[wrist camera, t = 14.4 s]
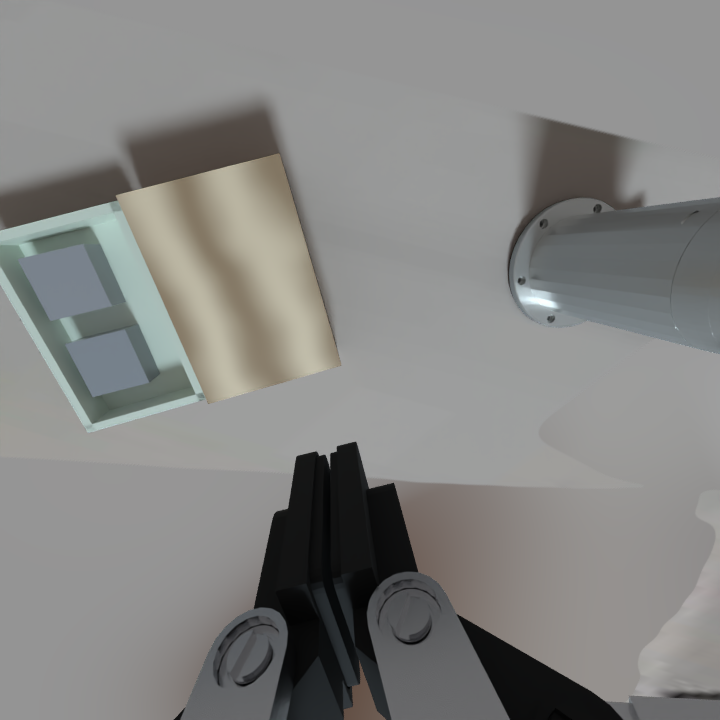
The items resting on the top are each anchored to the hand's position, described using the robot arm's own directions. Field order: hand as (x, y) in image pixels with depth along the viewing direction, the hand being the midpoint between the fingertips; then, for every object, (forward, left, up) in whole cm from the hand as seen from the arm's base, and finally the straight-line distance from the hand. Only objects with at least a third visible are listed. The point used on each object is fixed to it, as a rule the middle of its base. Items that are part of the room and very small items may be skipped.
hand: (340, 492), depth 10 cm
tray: (+17, -5, -26) cm, 32 cm away
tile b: (+18, -9, -23) cm, 31 cm away
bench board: (+5, -5, -26) cm, 27 cm away
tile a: (+18, -2, -23) cm, 30 cm away
